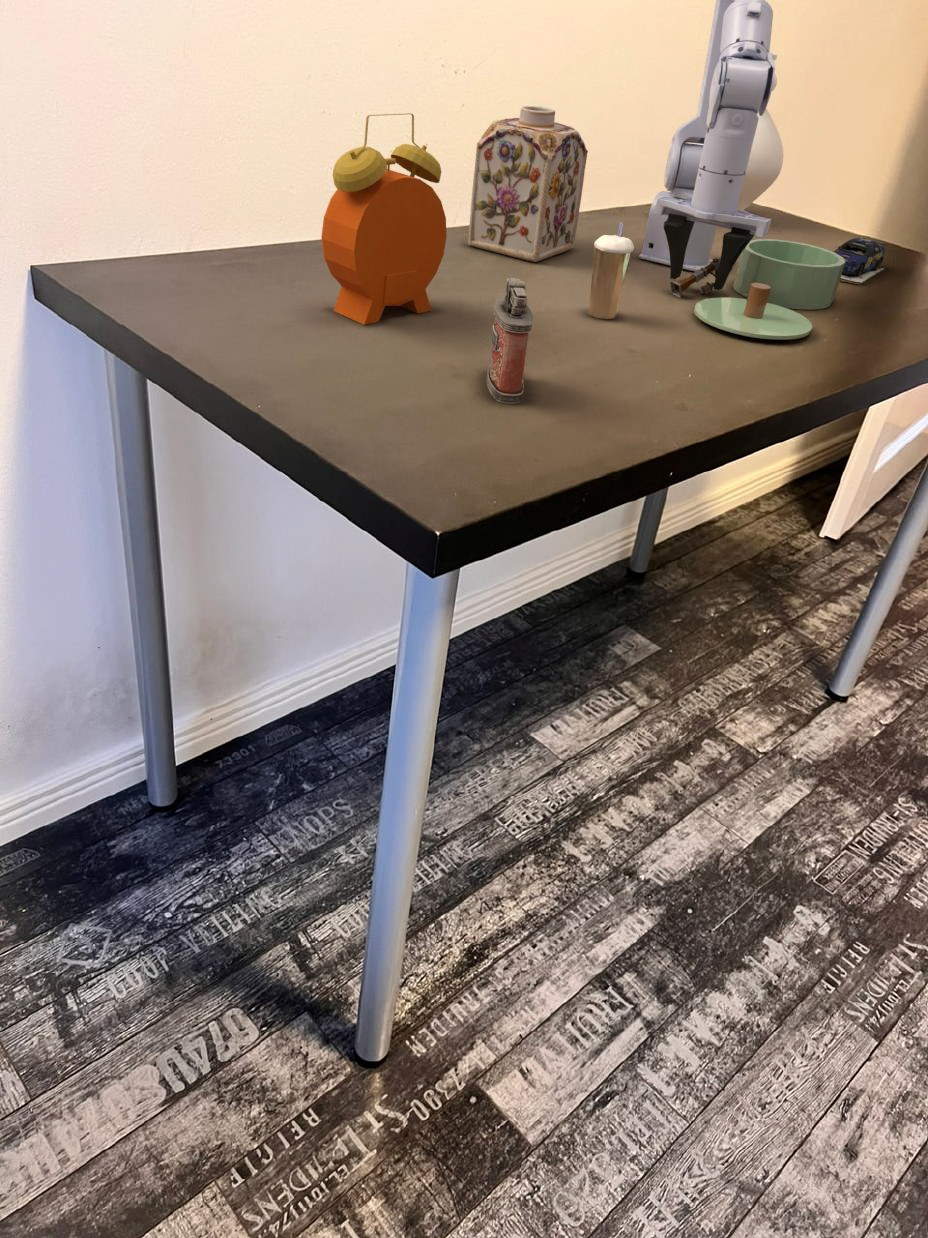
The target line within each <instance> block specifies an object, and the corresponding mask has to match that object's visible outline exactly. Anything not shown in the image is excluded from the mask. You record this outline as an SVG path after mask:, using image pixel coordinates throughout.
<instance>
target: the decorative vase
mask: <svg viewBox="0 0 928 1238" xmlns="http://www.w3.org/2000/svg"><path fill="white" fill-rule="evenodd" d="M772 53H773V60H774V61H776V60H777V59H778V54H777V53H775V52H772ZM777 84H778V78H777V75H776V73H775V72H774V81H773V87H772V92H774V90H775V89H776V87H777ZM757 116H758V118H759V120H758V124H757V128H756V132H755V136H754V140H753V144H752V149H751V153H750V157H749V161H748V165H747V169H746V173H745V178H744V182H743V186H742V190H741V194H740V199H739V203H738V207H737V210H740V211H744V212H747V213H750V212H749V211H747V210H746V208H748V207H749V206H751V205H752V204H753V203H754V202H755V201H756V200H757V199H758V198H759V197H760V196H761V195H763V194H764V193H765V192H766V191H767V190H768V189H769V188H770V187H771V186H772V185H773V184H774V183H775V181H776V180H777V179H778V177H779V175H780V174H781V171H782V168H783V163H784V148H783V142H782V139H781V136H780V133H779V130H778V128H777V126H776V123H775V121H774V120H773V117H772V116H771V114H770V112H769V110H768V109H767V108H766V109H765V112H764V114H763V115H762V116H760V115H759V111H758V113H757ZM689 143H690V142H689ZM690 144H699V143H690ZM699 145H704V144H699ZM719 222H723V221H719Z"/></svg>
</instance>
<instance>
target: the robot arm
mask: <svg viewBox="0 0 928 1238" xmlns="http://www.w3.org/2000/svg"><path fill="white" fill-rule="evenodd" d="M714 6H715V7H714V10H713V17H712V18H713V19H712V23H711V29H710V34H709V41H708V45H707V46H708V47H707V51H706V57H705V63H704V64H705V65H704V70H703V76H702V82H701V87H700V92H699V100H698V104H697V105H698V106H697V110H696V116H694V117H693V118H692V119H690V120H688V121H687V122H685V123H683V124H682V125H680V126H679V127H678V128H677V129H676V130H675V132H674V133H673V135H672V138H671V142H670V143H671V144H670V147H669V149H668V150H669V151H668V154H667V158H666V164H665V169H664V178H663V186H664V187H665V189H666V191H665V190H661V191H659V192H658V193H656V195H655V197H654V198H653V200H652V203H651V205H650V208H649V213H648V215H647V216H648V217H647V223H646V227H645V234H644V238H643V243H642V247H641V252H640V254H639V255H638V258H639V259H641V260H646V261H649V262H654V263H658V264H663V265H666V266H669V267H670V272H669V275H670V276H669V279H671V280H676V279H678V278H680V277H681V276H682V273H683V270H687V271H691V272H694V273H695V272H696V271H697V270H698V269H699V270H700V268H704V267H706V266H708V265H709V264H710V262H712V261H713V259H714V258H715V257H714V258H713V257H711V254H712V249H713V245H714V242H715V237H716V231H717V228H718V227H719V228H722V229H727V230H730V231H728V232H725V233H723V236H722V247H721V254H720V264H719V268H718V272H717V275H716V279H715V278H714V282H713V283H714V287H713V290H716V291H721V290H722V288H723V289H724V287H725V285H726V282H727V280H728V277H729V275H730V274H731V271H732V269H733V267H734V265H735V264H736V262H737V261H738V259H739V258H740V255H741V253H742V252H743V250H744V249H745V247H746V246H747V245H748V243H749V242H750V241H751V240H753V238H754V236H755V237H757V238H761V239H764V238H766V236H768V234H769V230H770V226H771V222H772V218H768V217H763V216H760V215H757V214H753V213H751V212H749V213H747V212H748V211H747V212H744V211H745V210H744V211H740V210H737V207H738V203H739V199H740V194H741V190H742V186H743V182H744V178H745V173H746V169H747V165H748V161H749V157H750V153H751V149H752V144H753V140H754V136H755V132H756V128H757V124H758V120H759V118H758V116H757V113H758V111H759V115H760V116H762V115H763V114H764V112H765V109H767V106H768V104H769V102H770V98H771V95H772V92H773V91H772V87H773V81H774V73H775V68H776V64H775V60H773V53H774V52H770V51H771V41H772V40H771V39H772V29H773V20H774V11H773V8H772V6H771V4H770V3H769V2H768V1H766V0H715V5H714ZM689 142H690V143H699V144H704V145H699V144H690V143H689ZM719 221H723V222H719ZM720 289H721V290H720Z"/></svg>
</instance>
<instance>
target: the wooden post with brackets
mask: <svg viewBox="0 0 928 1238" xmlns="http://www.w3.org/2000/svg"><path fill="white" fill-rule="evenodd" d="M720 259H721V257H714V259H713V261H712V262H710V264H709V265H708V266H706V267H704V268H700V270H699V269H698V270H697V271H696V272H695V271H694V272H693V273H691V275H689V276H687V277H685V278H683V279H681V280H678V281H676V280H674V279H671V280H669V284H670V290H671V291H670V292H671V295H674V296H676V297H678V298H681V297H683V292H684V291H685V290H686V289H688V288H689V287H691V286H692V285H694V284H695V283H699V282H700V281H701V280H703V279H705V278H707V277H708V275H709V274H710V275H711V276H713V277H714V280H715V279H716V275H717V272H718V268H719V264H720ZM714 283H715V282H708V281H706V284H704V285H701V286H700V289H699V294H701V295H703V294H704V295H707V294H708V293H710V292H712V293H713V292H714ZM722 289H724V287H723V288H722ZM722 289H720V290H719V291H721V290H722Z"/></svg>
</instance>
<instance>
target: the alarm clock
mask: <svg viewBox="0 0 928 1238" xmlns="http://www.w3.org/2000/svg"><path fill="white" fill-rule="evenodd" d="M400 115H401V116H402V115H411V142H412V144H409V143H401V144H399V145H398V146H396V147H395V148H394V150H393V151H392V152H391V154H390V157H388V158H387V157H386V158H385V157H384V155H382V153H381V152H380V151H378V150H377V149H375V148H373V147H371V146H367V144H368V131H369V119H370V117H376V116H377V117H379V116H400ZM364 132H365V133H364V144H363V146H358V147H355V148H352V149H349V150H347V151H346V152H345V153H343V154H342V155H340V156H339V157H338V159H337V160H336V162H335V164H334V166H333V169H332V180H333V184H334V186H335V188H336V190H335V192H334V193H333V195H332V196H331V198H330V200H329V202H328V205H327V207H326V211H325V212H324V215H323V220H322V221H323V222H322V228H321V229H322V230H321V236H320V237H321V247H322V252H323V253H322V254H323V259H324V261H325V263H326V266H327V267H328V270H329V273H330V274H331V276H332V277H333V278H334V279H335V280H336V281H337V283H338V284H339V285H340V286H341V287H340V290H339V293H338V296H337V299H336V302H335V305H334V307H333V312H334V313H338V314H339V315H341V316H344V317H346V318H347V319H350V320H352V321H355V322H356V323H359V324H361V325H364V326H365V325H370V324H375V323H379V321H380V319H381V317H382V314H383V312H384V310H385V308H386V306H387V307H388V306H389V307H390V306H392V307H393V306H394V307H397V306H399V307H402V308H404V309H406V310H409V311H411V312H414V313H417V314H421V313H425V312H431V311H432V308H431V304H430V301H429V296H428V293H427V288H428V286H429V285H430V284H431V282H432V281H433V279H434V278H435V277H436V275H437V273H438V270H439V268H440V266H441V263H442V260H443V258H444V253H445V248H446V244H447V239H448V238H447V235H448V234H447V216H446V214H445V210H444V206H443V202H442V200H441V198H440V196H439V195H438V194H437V193H436V191H435V189H434V188H433V187H432V186H431V185H429V184H428V183H426V182H425V181H427V182H430V183H433V184H439V183H440V181H441V176H442V168H441V164H440V163H439V161H438V160H437V159H436V158H435V157H434V156H433V154H431V153H429V152H428V151H427V148H428V147H427V146H426V145H425V144H423V145H422V146H421V147H420V146H419V145H418V144H417V143H415V115H414V114H413V113H411V112H410V113H409V112H408V113H385V114H384V113H383V114H368V115H367V116H366V120H365V130H364ZM396 164H397V165H398V166H400V167H401V168H402V169H404V170H406V171H407V172H409V173H410V174H409V175H408V174H406V173H402V172H398V171H396V170H393V169H391V168H390V167H391V166H392V165H396ZM422 179H423V180H425V181H423V180H422Z"/></svg>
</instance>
